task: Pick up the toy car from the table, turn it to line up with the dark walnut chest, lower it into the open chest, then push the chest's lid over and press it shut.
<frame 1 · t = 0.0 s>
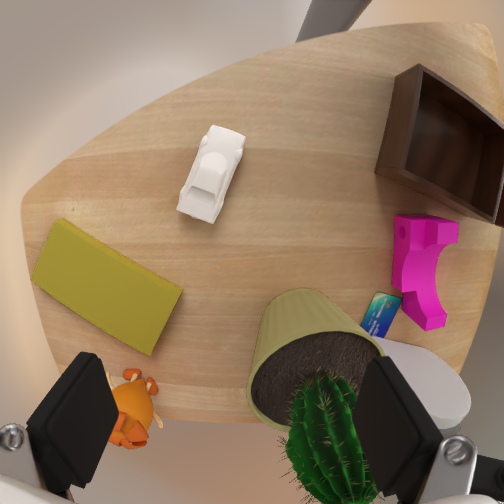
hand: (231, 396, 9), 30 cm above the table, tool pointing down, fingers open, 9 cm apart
flat olive board: (99, 281, 40), on the table
credit card: (378, 318, 42), on the table, touching alarm clock, toy block
alarm clock: (390, 359, 44), on the table, touching credit card
toy figure: (145, 374, 44), on the table
toy block: (409, 263, 39), on the table, touching credit card
toy car: (212, 174, 36), on the table
chest: (438, 148, 35), on the table
potted cactus: (298, 322, 42), on the table
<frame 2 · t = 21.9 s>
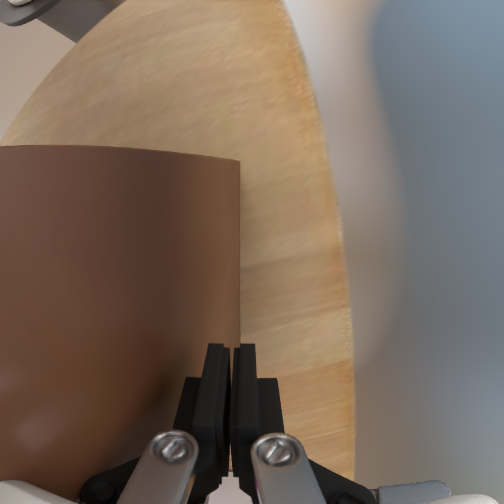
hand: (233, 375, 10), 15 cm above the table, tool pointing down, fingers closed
lid: (144, 413, 8), point 17 cm above the table, hinge at 75.9°, touching gripper
alarm clock: (215, 479, 34), on the table, touching credit card
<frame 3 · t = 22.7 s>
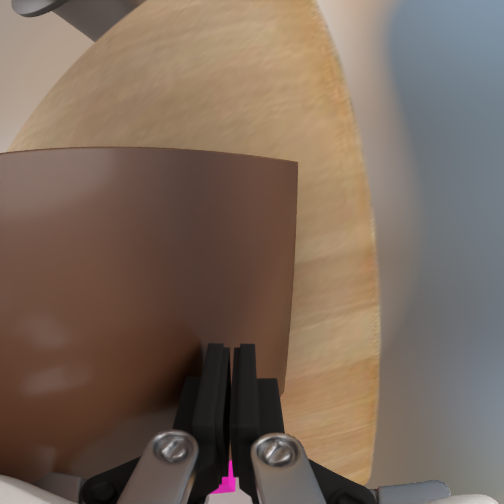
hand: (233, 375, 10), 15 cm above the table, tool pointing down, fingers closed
lid: (167, 394, 9), point 16 cm above the table, hinge at 60.0°, touching gripper
alarm clock: (235, 479, 34), on the table, touching credit card
toy block: (188, 411, 29), on the table, touching credit card
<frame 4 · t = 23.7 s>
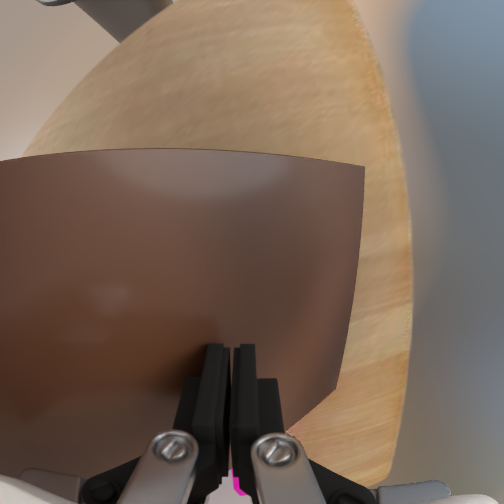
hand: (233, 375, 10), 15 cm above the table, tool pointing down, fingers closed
lid: (217, 363, 11), point 14 cm above the table, hinge at 42.5°, touching gripper
alarm clock: (262, 479, 34), on the table, touching credit card
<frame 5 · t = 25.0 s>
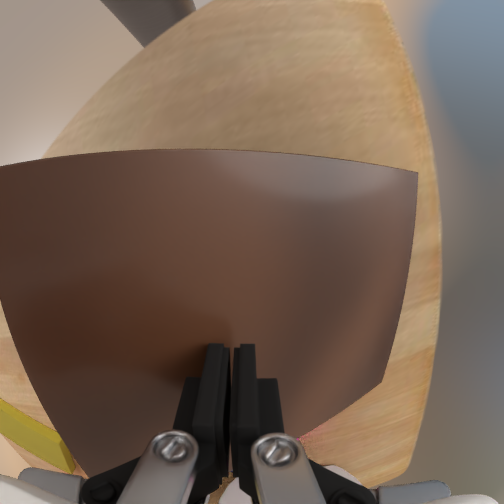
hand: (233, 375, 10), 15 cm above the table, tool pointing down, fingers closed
flat olive board: (20, 424, 33), on the table
lid: (283, 341, 12), point 13 cm above the table, hinge at 31.7°, touching gripper
alarm clock: (288, 477, 34), on the table, touching credit card
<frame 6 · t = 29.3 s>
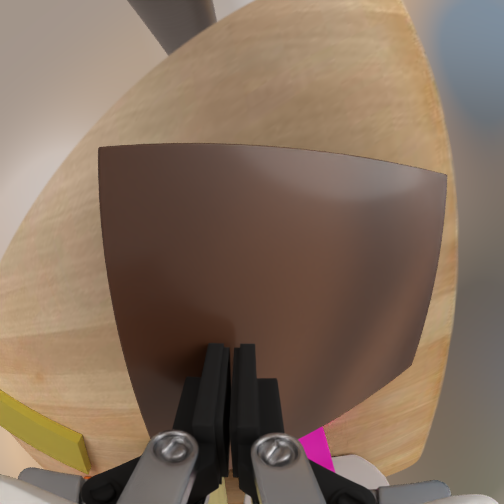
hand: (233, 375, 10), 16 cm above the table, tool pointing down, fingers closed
flat olive board: (34, 424, 34), on the table
lid: (343, 318, 14), point 12 cm above the table, hinge at 28.8°
alarm clock: (309, 468, 35), on the table, touching credit card
toy block: (287, 403, 31), on the table, touching credit card
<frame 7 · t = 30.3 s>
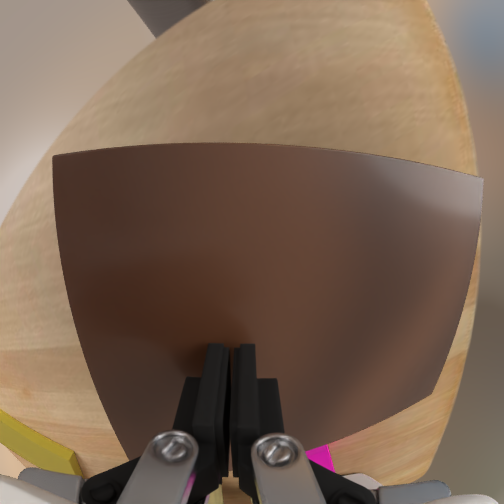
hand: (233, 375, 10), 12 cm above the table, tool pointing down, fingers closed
flat olive board: (25, 438, 30), on the table
lid: (337, 339, 12), point 10 cm above the table, hinge at 16.1°, touching gripper
alarm clock: (313, 487, 31), on the table, touching credit card
toy block: (291, 428, 27), on the table, touching credit card
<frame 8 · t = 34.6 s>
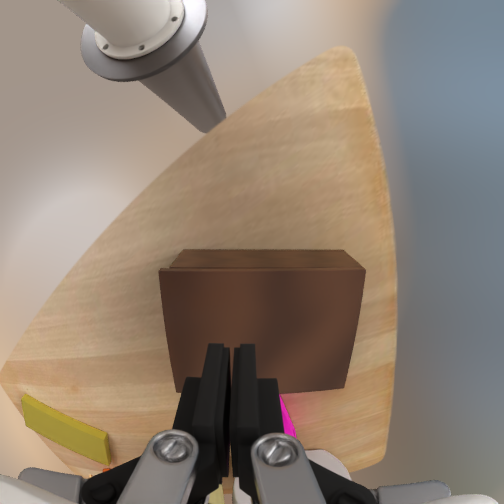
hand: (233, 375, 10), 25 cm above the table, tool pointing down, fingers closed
flat olive board: (63, 426, 45), on the table
lid: (263, 339, 30), point 7 cm above the table, hinge at 1.0°
alarm clock: (287, 459, 46), on the table, touching credit card
toy block: (264, 407, 42), on the table, touching credit card
chest: (263, 308, 37), on the table
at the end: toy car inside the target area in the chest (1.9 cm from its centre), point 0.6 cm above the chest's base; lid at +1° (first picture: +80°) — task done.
